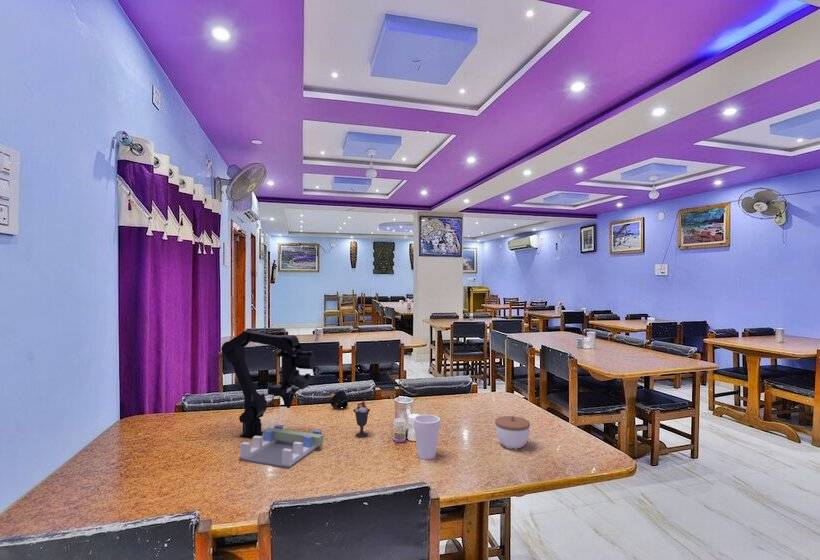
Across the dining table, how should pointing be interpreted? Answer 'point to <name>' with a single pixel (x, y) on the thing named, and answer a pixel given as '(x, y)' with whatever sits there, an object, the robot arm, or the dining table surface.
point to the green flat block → (294, 436)
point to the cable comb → (277, 450)
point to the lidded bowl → (512, 431)
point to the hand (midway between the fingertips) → (288, 407)
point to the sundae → (361, 418)
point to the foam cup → (426, 435)
